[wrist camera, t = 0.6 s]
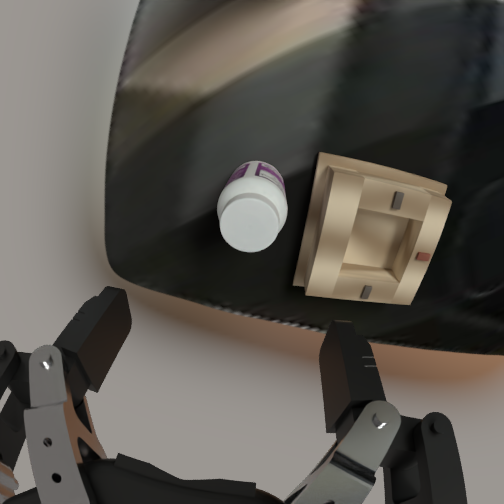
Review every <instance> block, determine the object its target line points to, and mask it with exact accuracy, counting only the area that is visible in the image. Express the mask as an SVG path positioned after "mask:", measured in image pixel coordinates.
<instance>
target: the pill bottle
mask: <svg viewBox="0 0 504 504" xmlns="http://www.w3.org/2000/svg"><path fill="white" fill-rule="evenodd" d="M287 209H288V207H287V202H286V194H285V187H284V182H283V179H282V176H281V175H280V173H279V172H278V171H277V170H276V169H275V168H274V167H273V166H272V165H270V164H267V163H265V162H261V161H251V162H247V163H244V164H242V165H241V166H239V167H238V168H237V169H236V170H235V171H234V173H233V174H232V176H231V177H230V179H229V180H228V182H227V184H226V186H225V187H224V189H223V191H222V192H221V194H220V197H219V200H218V205H217V214H218V218H219V221H220V231H221V234H222V236H223V238H224V239H225V240H226V242H227V243H228V244H229V245H230V246H232V247H234V248H235V249H237V250H240V251H244V252H257V251H260V250H263V249H265V248H266V247H268V246H269V245H270V244H272V242H273V241H274V240H275V238H276V236H277V234H278V232H279V231H280V230H281V229H282V227H283V225H284V223H285V221H286V217H287Z"/></svg>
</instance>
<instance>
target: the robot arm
mask: <svg viewBox="0 0 504 504" xmlns="http://www.w3.org/2000/svg"><path fill="white" fill-rule="evenodd" d="M131 324H132V319H131V313H130V309H129V304H128V299H127V294H126V291H125V290H124V289H120V288H114V287H110V286H107V287H105V288H104V290H103V291H102V292H101V293H100V295H99V296H94V297H93V298H91V299H90V300H88V301H86V302H85V303H84V304H83V306H82V307H81V308H80V309H79V311H78V313H76V314H75V316H74V317H73V320H71V321H70V322H69V323H68V325H67V326H66V328H65V329H64V330H63V331H62V333H61V334H60V335H59V337H58V338H57V340H56V341H55V343H54V344H53V345H44V346H41V347H39V348H37V349H36V350H35V351H34V352H33V353H24V352H17V350H16V349H15V347H14V345H13V344H12V343H11V342H10V341H0V399H1V397H2V395H3V394H4V392H5V390H6V388H7V387H8V388H9V389H10V390H11V394H10V395H9V397H8V399H7V401H6V403H5V405H4V407H3V409H2V411H1V413H0V504H362V503H363V501H364V500H365V498H366V497H367V495H368V494H369V492H370V491H371V489H372V487H373V486H374V484H375V481H376V477H374V475H375V472H376V470H377V469H378V467H379V466H380V467H383V473H384V488H385V504H467V497H466V490H465V483H464V477H463V472H462V466H461V461H460V456H459V452H458V447H457V443H456V439H455V436H454V431H453V428H452V424H451V422H450V420H449V419H448V418H447V417H446V416H445V415H444V414H442V413H439V412H432V413H429V414H427V415H426V416H425V417H424V418H423V419H416V418H411V417H406V416H402V415H400V414H399V412H398V410H397V409H396V408H395V406H393V405H392V404H390V403H389V402H387V401H386V398H385V394H384V391H383V387H382V383H381V380H380V376H379V372H378V369H377V367H376V362H375V359H374V358H373V357H374V355H373V352H372V349H371V346H370V344H369V343H368V342H367V340H366V339H365V338H364V337H363V335H356V332H355V329H354V325H353V323H352V322H351V321H339V320H332V321H331V323H330V325H329V328H328V331H327V333H326V336H325V338H324V341H323V343H322V346H321V349H320V354H319V365H320V372H321V382H322V390H323V400H324V411H325V422H326V433H336V438H337V440H336V441H335V443H334V444H333V445H332V447H331V448H330V449H329V450H328V452H327V453H326V454H325V456H324V457H323V458H322V459H321V461H320V462H319V463H318V464H317V465H316V467H315V468H314V469H313V470H312V472H311V473H310V474H309V475H308V476H307V477H306V478H305V480H303V481H302V482H301V483H300V484H299V485H298V486H297V487H296V488H295V489H294V490H293V491H292V492H291V493H290V494H289V496H288V497H287V498H286V499H285V500H284V501H282V500H280V499H279V498H277V497H276V496H274V495H272V494H270V493H267V492H265V491H263V490H259V489H256V483H253V482H242V481H233V480H225V479H208V480H182V479H179V478H177V477H175V476H173V475H171V474H169V473H167V472H165V471H163V470H161V469H159V468H157V467H155V466H153V465H152V464H150V463H147V462H144V461H140V460H137V459H134V458H131V457H128V456H125V455H122V454H120V453H118V455H117V458H116V459H107V456H106V454H105V452H104V449H103V447H102V446H101V444H100V442H99V440H98V438H97V436H96V433H95V429H94V426H93V422H92V419H91V415H90V411H89V407H88V403H87V399H86V396H85V393H86V392H87V389H89V390H91V391H94V392H98V391H99V389H100V387H101V385H102V383H103V381H104V379H105V377H106V375H107V373H108V371H109V369H110V367H111V365H112V363H113V362H114V360H115V358H116V356H117V354H118V352H119V350H120V349H121V347H122V345H123V343H124V341H125V340H126V338H127V335H128V334H129V332H130V329H131ZM26 438H27V445H28V451H29V456H30V461H31V465H32V471H33V475H34V479H35V483H36V487H35V488H33V489H30V490H28V491H25V492H23V493H20V494H18V495H15V493H14V490H17V489H18V487H19V484H18V481H17V480H16V479H15V478H14V474H13V470H14V467H15V464H16V461H17V459H18V456H19V454H20V451H21V448H22V446H23V443H24V441H25V439H26Z"/></svg>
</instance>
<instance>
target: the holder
mask: <svg viewBox="0 0 504 504" xmlns="http://www.w3.org/2000/svg"><path fill="white" fill-rule="evenodd" d="M446 189H447V185H446V184H443V183H440V182H437V181H434V180H431V179H428V178H425V177H421V176H418V175H415V174H411V173H408V172H404V171H401V170H397V169H393V168H390V167H386V166H382V165H378V164H374V163H370V162H365V161H361V160H357V159H352V158H348V157H343V156H338V155H333V154H328V153H322V152H319V154H318V160H317V166H316V172H315V177H314V183H313V188H312V194H311V199H310V204H309V209H308V214H307V219H306V224H305V229H304V234H303V239H302V244H301V248H300V253H299V258H298V262H297V267H296V271H295V276H294V280H293V285H295V286H304V287H305V295H308V296H317V297H326V298H336V299H347V300H357V301H368V302H380V303H392V304H406V305H410V303H411V302H412V300H413V298H414V296H415V293H416V291H417V289H418V287H419V285H420V283H421V281H422V279H423V276H424V274H425V272H426V270H427V267H428V265H429V263H430V260H431V258H432V256H433V253H434V251H435V248H436V246H437V243H438V241H439V238H440V235H441V233H442V230H443V227H444V224H445V221H446V218H447V215H448V212H449V209H450V206H451V203H452V201H451V200H449V199H448V198H447V197H445V192H446Z"/></svg>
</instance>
